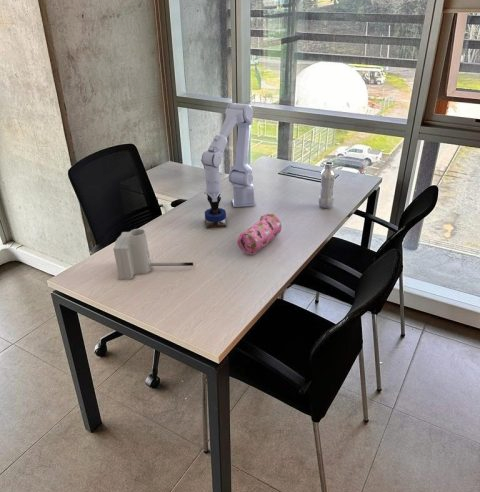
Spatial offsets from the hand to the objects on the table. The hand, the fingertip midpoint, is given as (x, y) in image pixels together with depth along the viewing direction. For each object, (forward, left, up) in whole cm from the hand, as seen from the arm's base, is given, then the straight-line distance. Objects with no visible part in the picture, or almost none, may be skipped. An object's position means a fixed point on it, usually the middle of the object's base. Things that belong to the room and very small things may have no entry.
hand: (214, 211), depth 193 cm
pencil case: (-16, +24, -4) cm, 29 cm away
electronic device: (+23, +37, -4) cm, 44 cm away
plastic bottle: (-50, -6, -4) cm, 51 cm away
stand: (0, +3, -4) cm, 5 cm away
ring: (0, +3, -1) cm, 4 cm away
